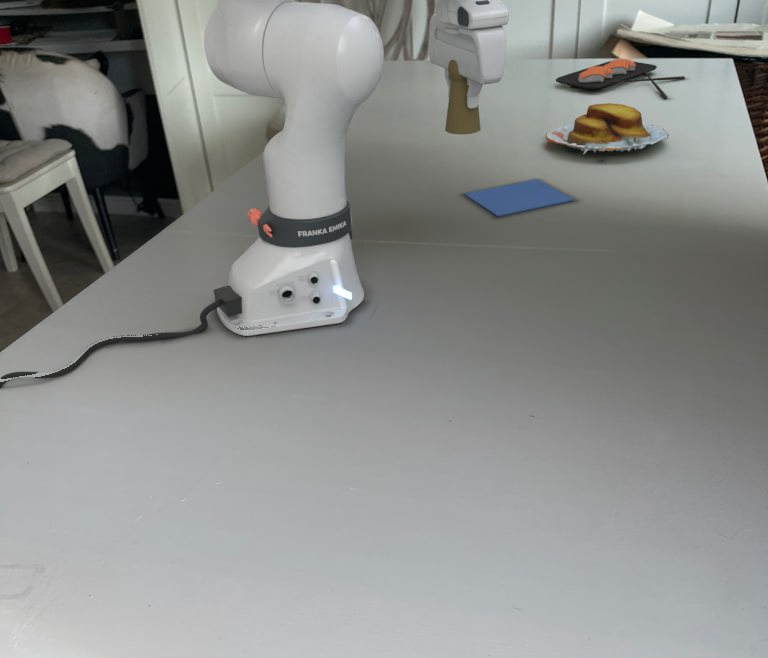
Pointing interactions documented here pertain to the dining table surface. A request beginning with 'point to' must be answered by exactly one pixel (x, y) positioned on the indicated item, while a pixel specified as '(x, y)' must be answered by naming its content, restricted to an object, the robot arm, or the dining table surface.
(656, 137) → the food on plate
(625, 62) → the sushi plate
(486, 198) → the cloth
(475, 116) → the brown peg doll
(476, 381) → the dining table surface
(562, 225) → the dining table surface
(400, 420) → the dining table surface
